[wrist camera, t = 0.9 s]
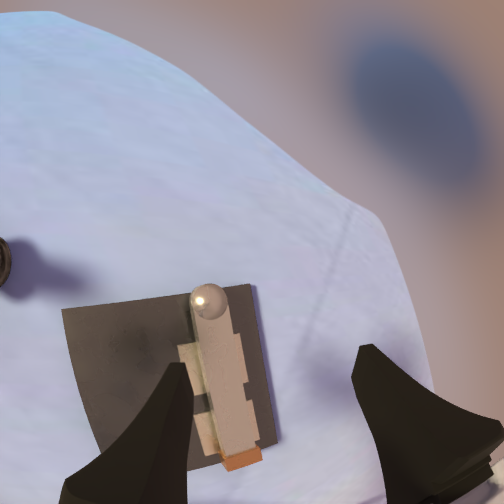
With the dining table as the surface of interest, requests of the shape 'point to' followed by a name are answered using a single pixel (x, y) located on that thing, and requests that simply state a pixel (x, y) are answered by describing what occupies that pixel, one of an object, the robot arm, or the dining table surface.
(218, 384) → the swing arm
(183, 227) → the dining table surface
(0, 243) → the grey tall carved piece
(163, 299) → the label panel
